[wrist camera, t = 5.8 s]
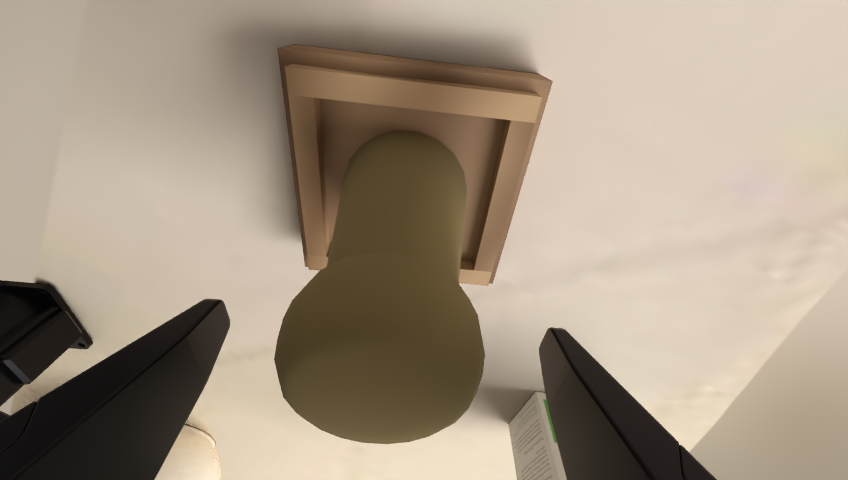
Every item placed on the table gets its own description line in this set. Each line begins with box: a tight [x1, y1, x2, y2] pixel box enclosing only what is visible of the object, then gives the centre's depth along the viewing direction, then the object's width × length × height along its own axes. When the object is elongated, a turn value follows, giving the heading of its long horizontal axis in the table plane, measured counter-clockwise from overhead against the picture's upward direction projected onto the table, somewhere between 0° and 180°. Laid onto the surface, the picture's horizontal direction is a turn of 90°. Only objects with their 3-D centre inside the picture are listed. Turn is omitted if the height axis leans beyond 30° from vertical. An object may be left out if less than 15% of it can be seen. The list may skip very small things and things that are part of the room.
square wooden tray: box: [278, 44, 553, 286], centre depth 17 cm, size 11×11×3 cm
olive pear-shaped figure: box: [274, 130, 485, 444], centre depth 12 cm, size 6×6×11 cm
